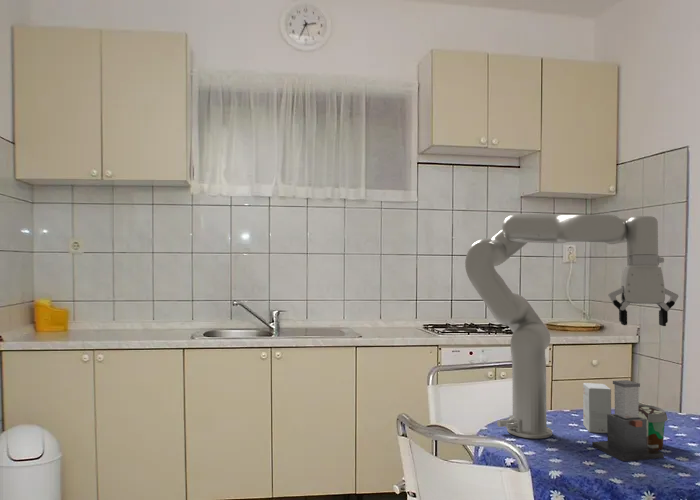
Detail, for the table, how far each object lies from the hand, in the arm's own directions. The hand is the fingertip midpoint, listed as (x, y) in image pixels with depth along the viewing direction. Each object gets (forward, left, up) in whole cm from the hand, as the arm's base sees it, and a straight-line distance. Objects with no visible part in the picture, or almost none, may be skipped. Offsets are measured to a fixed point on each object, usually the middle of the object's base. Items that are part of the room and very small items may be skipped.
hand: (643, 325), depth 152 cm
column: (-7, -1, -32) cm, 32 cm away
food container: (+4, +1, -33) cm, 34 cm away
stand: (-7, -1, -33) cm, 34 cm away
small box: (-1, +19, -33) cm, 38 cm away
